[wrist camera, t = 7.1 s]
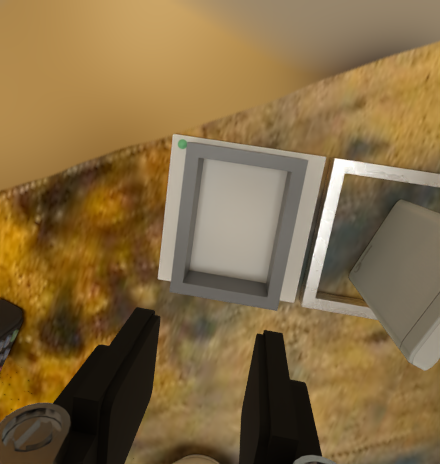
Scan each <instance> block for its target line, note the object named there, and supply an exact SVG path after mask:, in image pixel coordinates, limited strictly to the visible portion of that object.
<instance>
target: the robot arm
mask: <svg viewBox="0 0 440 464" xmlns="http://www.w3.org/2000/svg"><path fill="white" fill-rule="evenodd" d="M159 326H160V316H156V315H155V311H154V310H149V309H144V308H138V307H137V308H136V309H135V310H134V312H133V313H132V314H131V316H130V317H129V319H128V320H127V321H126V323H125V324H124V326H123V327H122V328H121V330H120V331H119V333H118V334H117V335H116V337H115V338H114V340H113V341H112V342H111V344H110V345H109V346H106V345H98V346H97V347H96V348H95V349H94V351H93V352H92V353H91V355H90V356H89V357H88V359H87V360H86V361H85V362H84V364H83V365H82V366H81V368H80V369H79V370H78V372H77V373H76V374H75V375H74V377H73V378H72V379H71V381H70V382H69V383H68V385H67V386H66V387H65V388H64V390H63V391H62V392H61V394H60V395H59V396H58V398H57V399H56V400H55V401H54V403H53V404H52V403H36V404H32V405H27V406H25V407H22V408H20V409H17V410H16V411H14V412H12V413H11V414H9V415H8V416H6V417H5V418H4V419H3V420H2V421H1V422H0V464H124V463H125V461H126V458H127V456H128V453H129V451H130V448H131V446H132V443H133V441H134V438H135V436H136V433H137V431H138V428H139V426H140V423H141V421H142V418H143V416H144V413H145V411H146V408H147V406H148V403H149V401H150V398H151V394H152V389H153V380H154V371H155V362H156V353H157V344H158V335H159ZM239 464H336V463H335V462H333V461H332V460H329V459H327V458H324V457H322V453H321V449H320V444H319V440H318V435H317V431H316V426H315V422H314V417H313V413H312V408H311V404H310V399H309V395H308V390H307V386H306V384H305V383H304V382H300V381H295V380H290V378H289V371H288V365H287V359H286V352H285V346H284V339H283V334H282V333H278V332H272V331H267V330H264V333H263V335H262V334H257V335H256V340H255V345H254V350H253V355H252V360H251V365H250V371H249V376H248V381H247V386H246V391H245V396H244V401H243V407H242V414H241V432H240V455H239Z"/></svg>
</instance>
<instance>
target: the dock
mask: <svg viewBox="0 0 440 464" xmlns="http://www.w3.org/2000/svg"><path fill="white" fill-rule="evenodd" d="M325 160H326V157H324V156H317V155H310V154H304V153H297V152H290V151H284V150H277V149H271V148H264V147H257V146H251V145H244V144H237V143H231V142H224V141H217V140H211V139H204V138H198V137H191V136H184V135H178V134H173V140H172V150H171V159H170V169H169V178H168V187H167V197H166V206H165V216H164V225H163V235H162V244H161V253H160V263H159V272H158V279H161V280H167V281H171V285H170V292H174V293H179V294H185V295H191V296H196V297H202V298H208V299H213V300H219V301H225V302H230V303H236V304H242V305H247V306H253V307H258V308H264V309H270V310H275V311H277V309H278V304H279V300H281V301H287V302H292V303H294V301H295V296H296V292H297V287H298V283H299V278H300V274H301V269H302V265H303V260H304V255H305V251H306V246H307V242H308V237H309V233H310V228H311V224H312V219H313V215H314V210H315V206H316V201H317V197H318V192H319V187H320V183H321V178H322V174H323V169H324V165H325Z"/></svg>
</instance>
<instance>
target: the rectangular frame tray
mask: <svg viewBox="0 0 440 464" xmlns="http://www.w3.org/2000/svg"><path fill="white" fill-rule="evenodd" d="M345 173H348V174H355V175H361V176H368V177H374V178H381V179H388V180H394V181H401V182H407V183H414V184H420V185H427V186H433V187H440V174H436V173H430V172H423V171H416V170H410V169H403V168H396V167H390V166H383V165H377V164H370V163H363V162H357V161H350V160H343V159H337V158H331V160H330V164H329V169H328V173H327V178H326V182H325V187H324V191H323V196H322V200H321V205H320V209H319V214H318V218H317V222H316V227H315V231H314V236H313V240H312V245H311V249H310V254H309V258H308V263H307V267H306V272H305V276H304V280H303V285H302V289H301V294H300V298H299V300H300V303H301V307H307V308H313V309H319V310H324V311H330V312H336V313H341V314H347V315H353V316H358V317H364V318H370V319H375V320H378V319H377V317H376V316H375V315H374V313H373V312H372V310H371V309H370V308H369V306H368V305H367V303H366V302H365V300H360V299H355V298H349V297H343V296H337V295H331V294H326V293H320V292H317V288H318V284H319V280H320V276H321V271H322V267H323V263H324V259H325V255H326V250H327V246H328V242H329V238H330V233H331V229H332V225H333V221H334V217H335V212H336V208H337V204H338V200H339V195H340V191H341V187H342V183H343V179H344V174H345Z"/></svg>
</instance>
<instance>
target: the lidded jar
mask: <svg viewBox="0 0 440 464" xmlns="http://www.w3.org/2000/svg"><path fill="white" fill-rule="evenodd" d="M172 464H220V463H219V462H218V461H216V460H215V459H213V458H211V457H209V456H205V455H200V454H194V455H188V456H185V457H183V458H181V459H180V460H178V461H176V462H174V463H172Z"/></svg>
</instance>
